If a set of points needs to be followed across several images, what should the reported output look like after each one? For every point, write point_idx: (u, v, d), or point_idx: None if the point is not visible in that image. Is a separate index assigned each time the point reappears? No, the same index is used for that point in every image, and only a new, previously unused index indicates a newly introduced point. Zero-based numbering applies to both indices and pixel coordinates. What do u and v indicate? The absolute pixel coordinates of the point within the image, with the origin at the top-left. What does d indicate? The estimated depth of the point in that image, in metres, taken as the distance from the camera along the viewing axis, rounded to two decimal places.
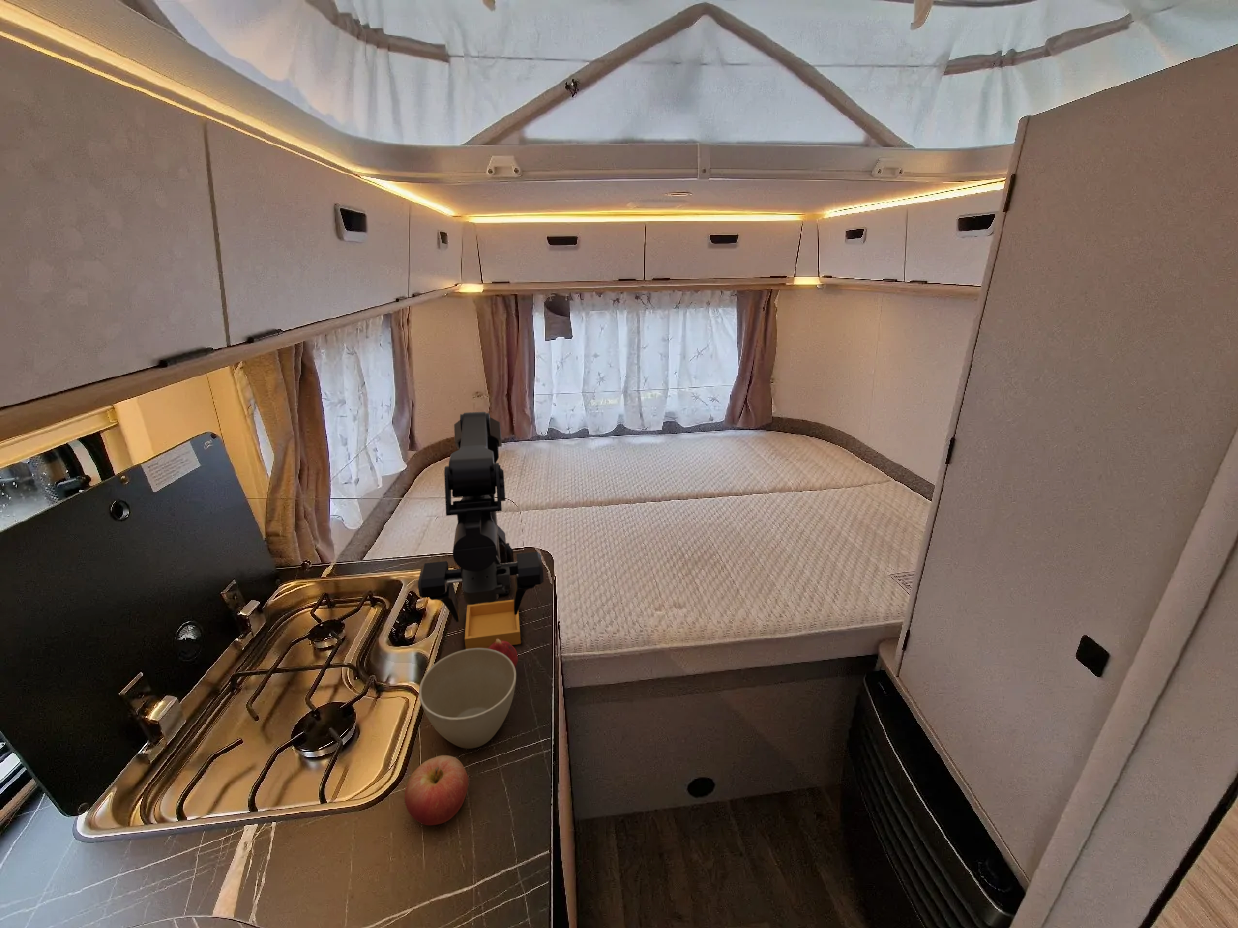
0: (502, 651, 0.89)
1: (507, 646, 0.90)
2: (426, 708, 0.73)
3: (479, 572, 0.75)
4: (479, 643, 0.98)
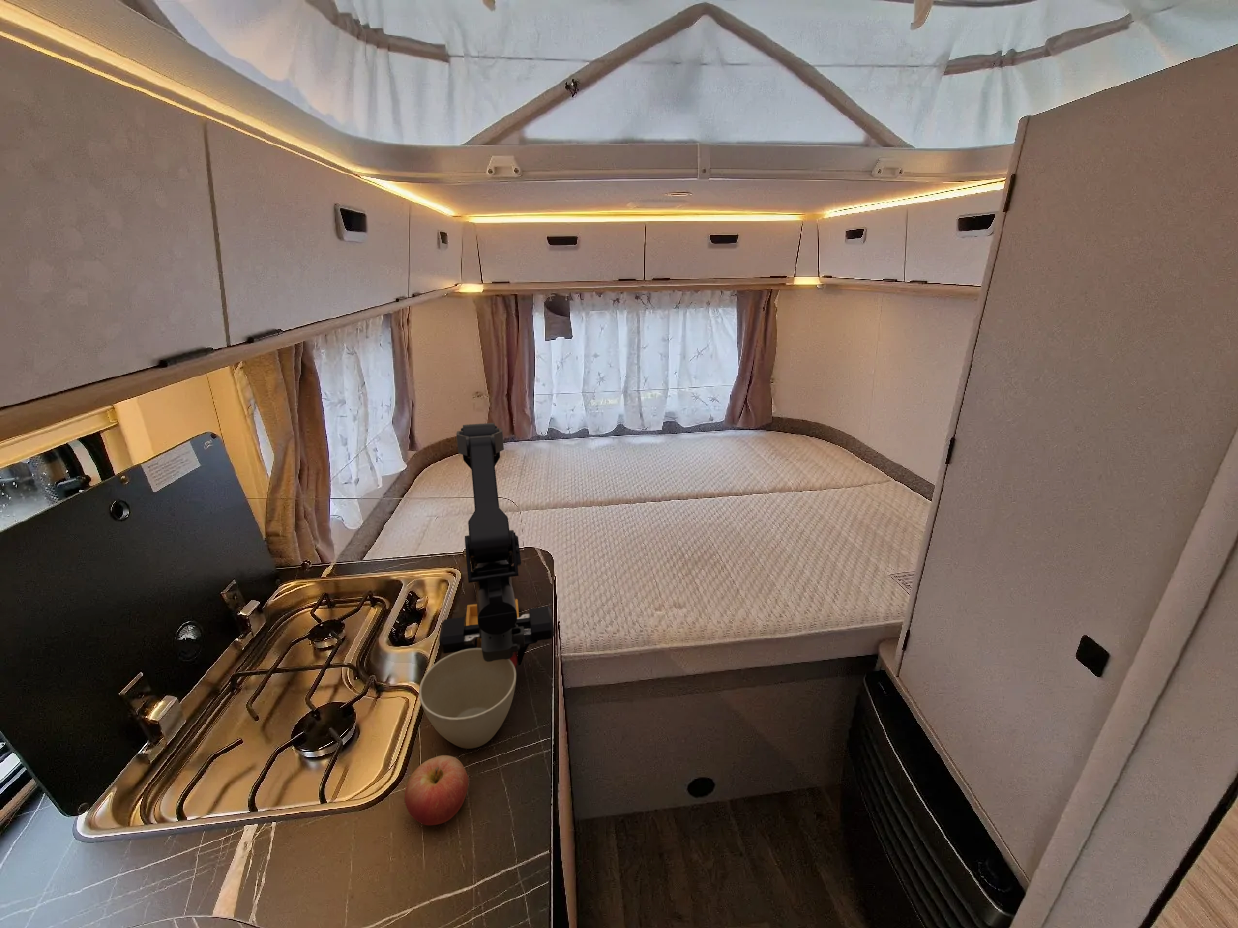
0: None
1: None
2: (426, 708, 0.73)
3: None
4: None
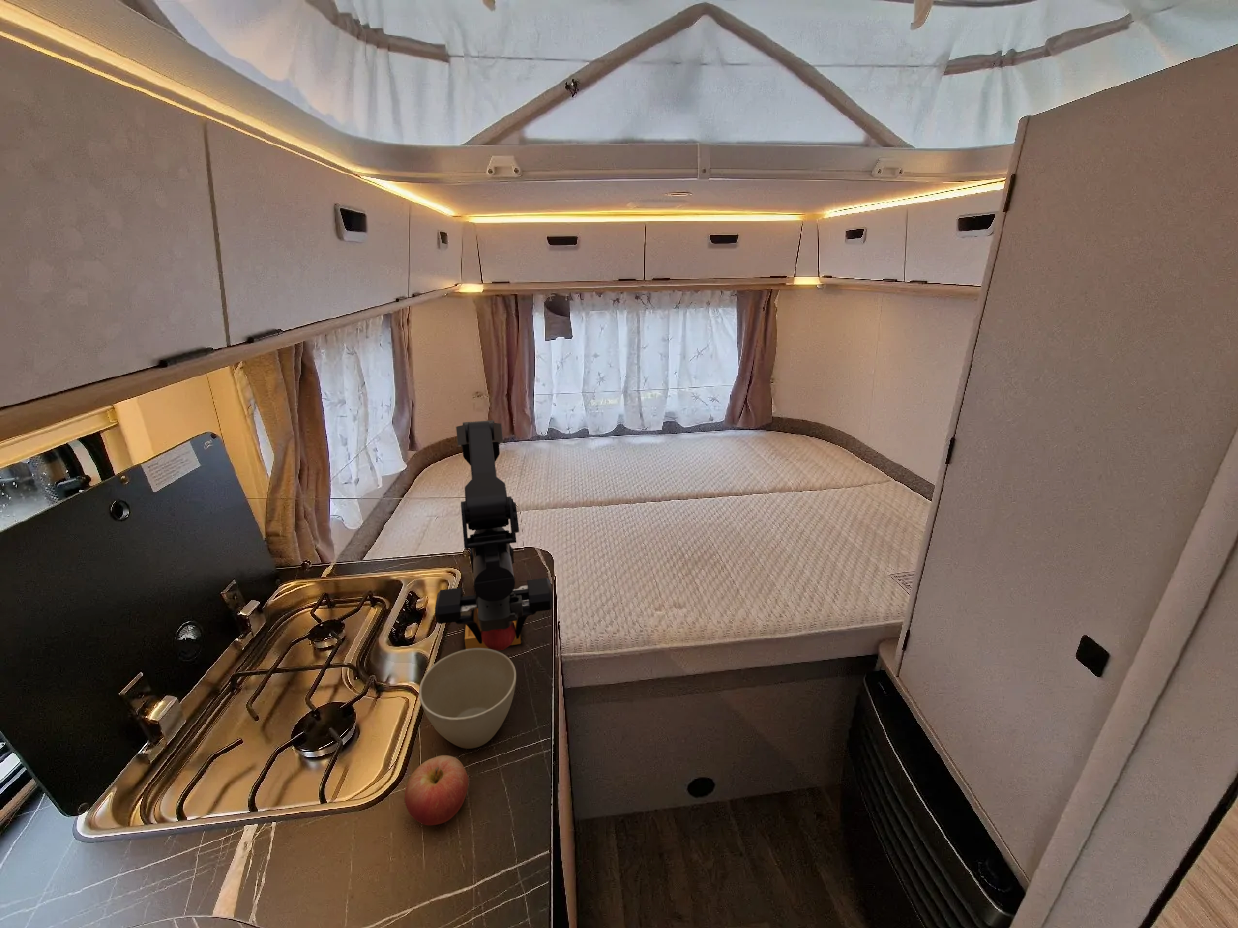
0: None
1: None
2: (426, 708, 0.73)
3: None
4: None
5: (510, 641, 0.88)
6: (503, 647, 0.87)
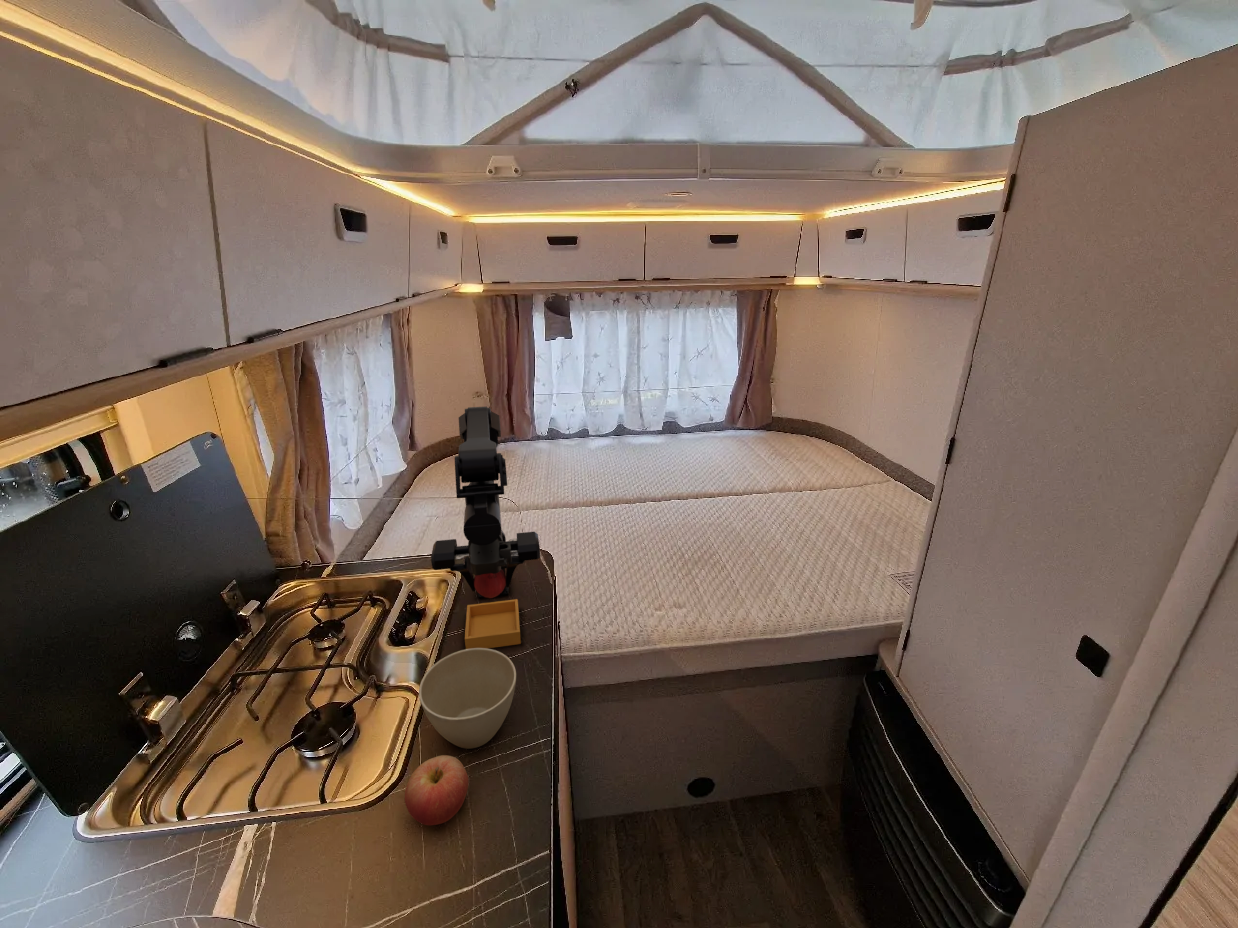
0: None
1: None
2: (426, 708, 0.73)
3: (484, 547, 0.87)
4: (479, 643, 0.98)
5: (501, 589, 0.95)
6: (494, 594, 0.95)
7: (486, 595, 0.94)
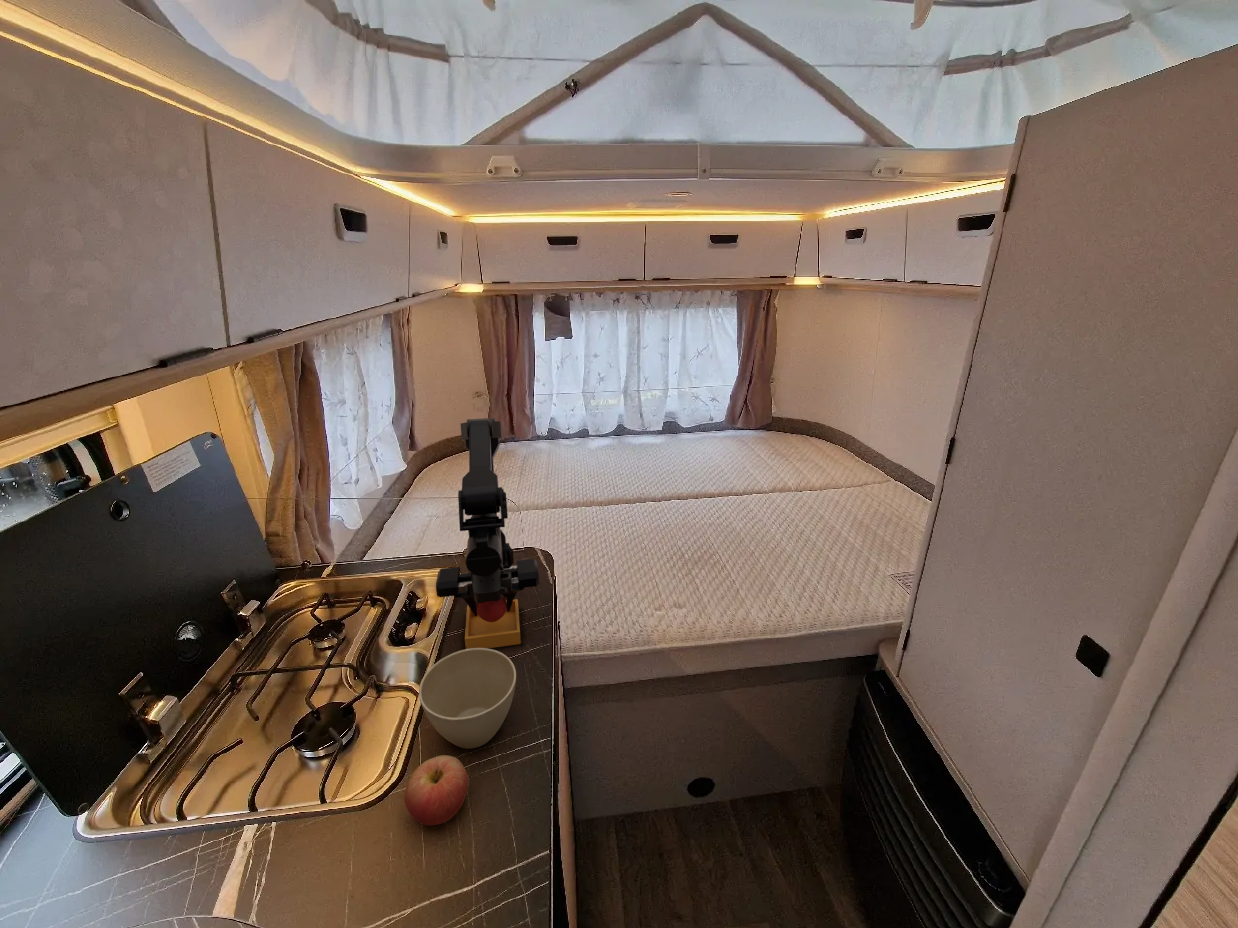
0: None
1: None
2: (426, 708, 0.73)
3: (486, 576, 0.92)
4: (479, 643, 0.98)
5: (501, 614, 1.00)
6: (495, 619, 1.00)
7: (488, 620, 0.99)
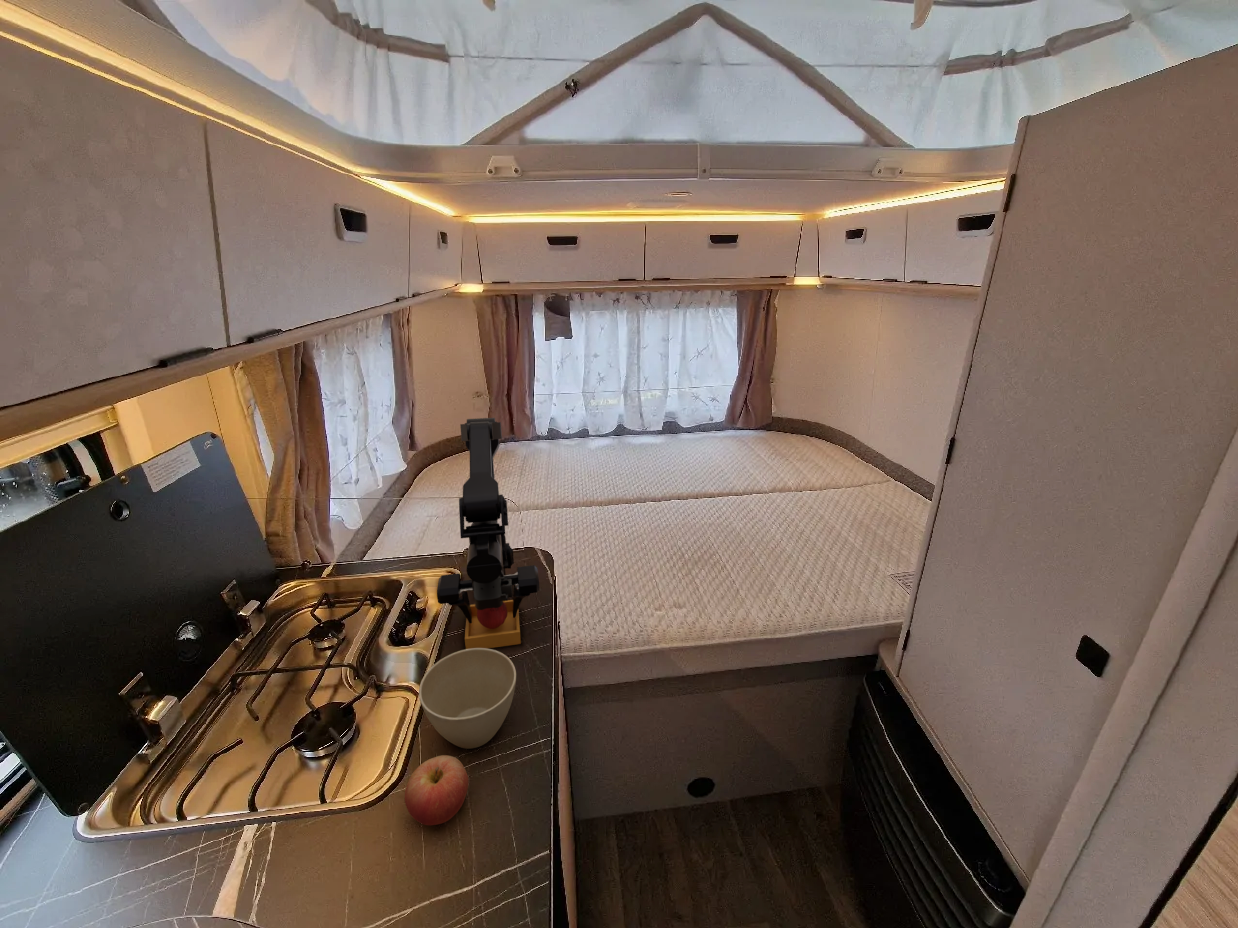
0: None
1: None
2: (426, 708, 0.73)
3: (487, 583, 0.93)
4: (479, 643, 0.98)
5: (502, 620, 1.01)
6: (496, 625, 1.00)
7: (488, 626, 1.00)
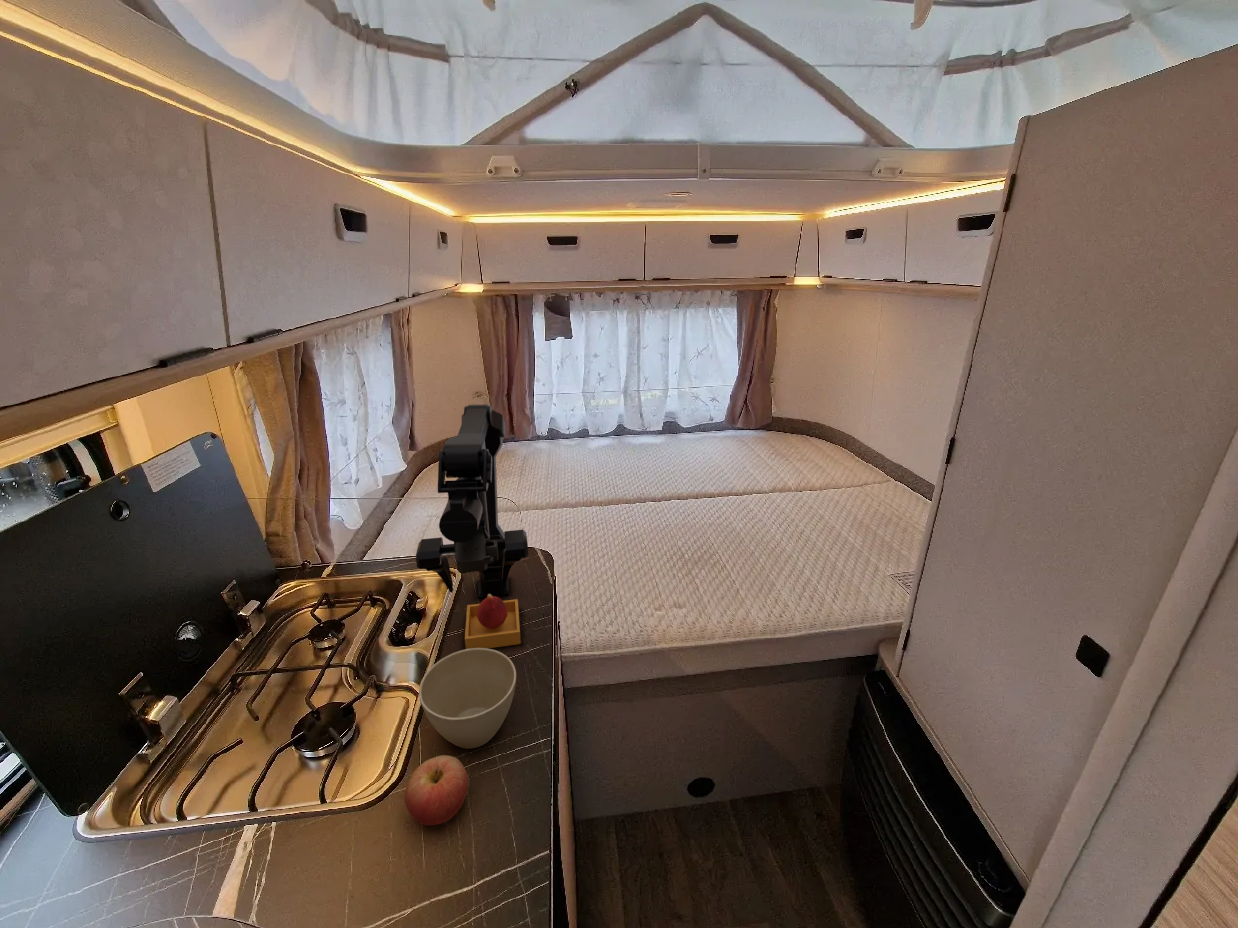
0: (493, 604, 1.00)
1: (497, 600, 1.01)
2: (426, 708, 0.73)
3: (470, 545, 0.85)
4: (479, 643, 0.98)
5: (502, 620, 1.01)
6: (496, 625, 1.00)
7: (488, 626, 1.00)
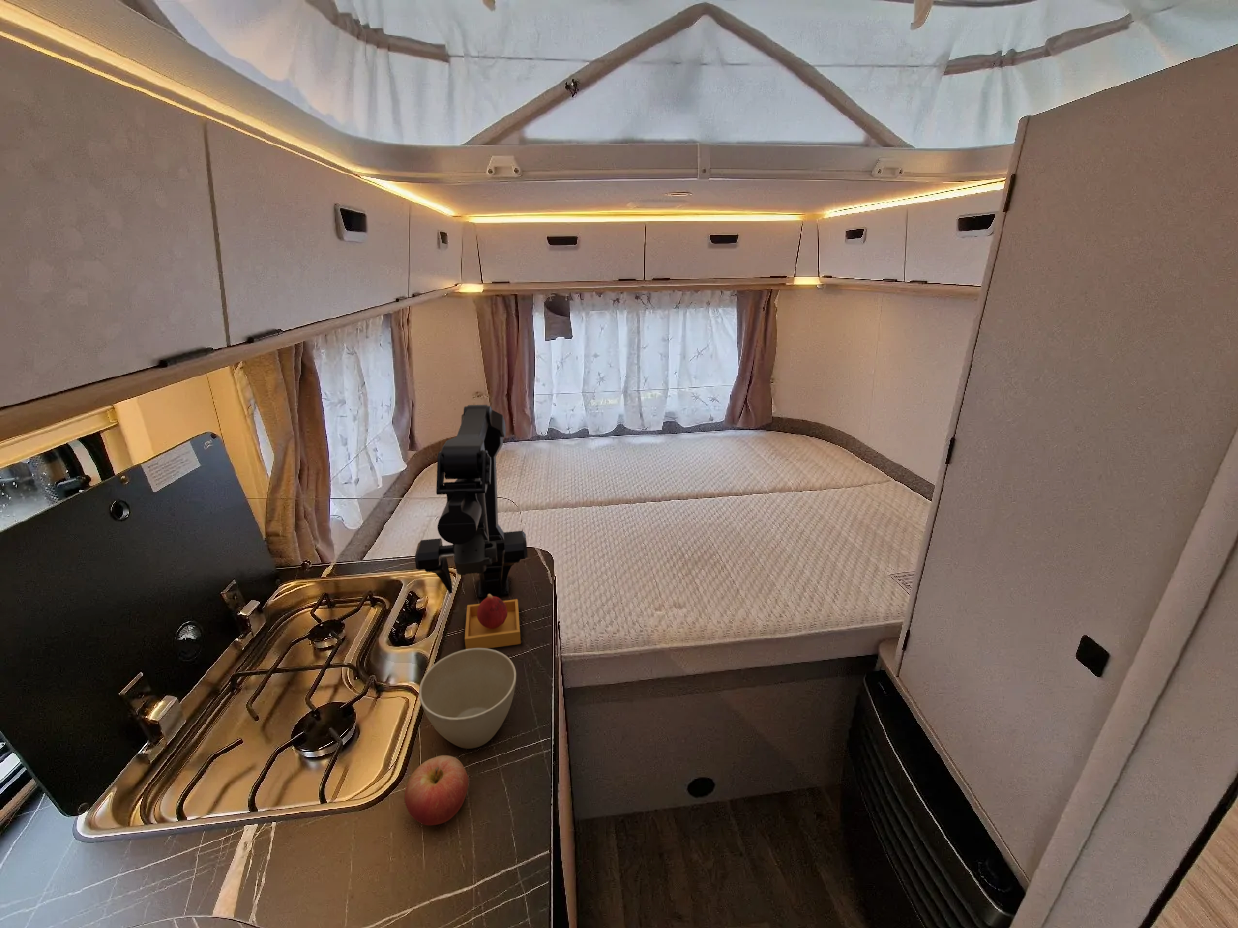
0: (493, 604, 1.00)
1: (497, 600, 1.01)
2: (426, 708, 0.73)
3: (469, 546, 0.85)
4: (479, 643, 0.98)
5: (502, 620, 1.01)
6: (496, 625, 1.00)
7: (488, 626, 1.00)
